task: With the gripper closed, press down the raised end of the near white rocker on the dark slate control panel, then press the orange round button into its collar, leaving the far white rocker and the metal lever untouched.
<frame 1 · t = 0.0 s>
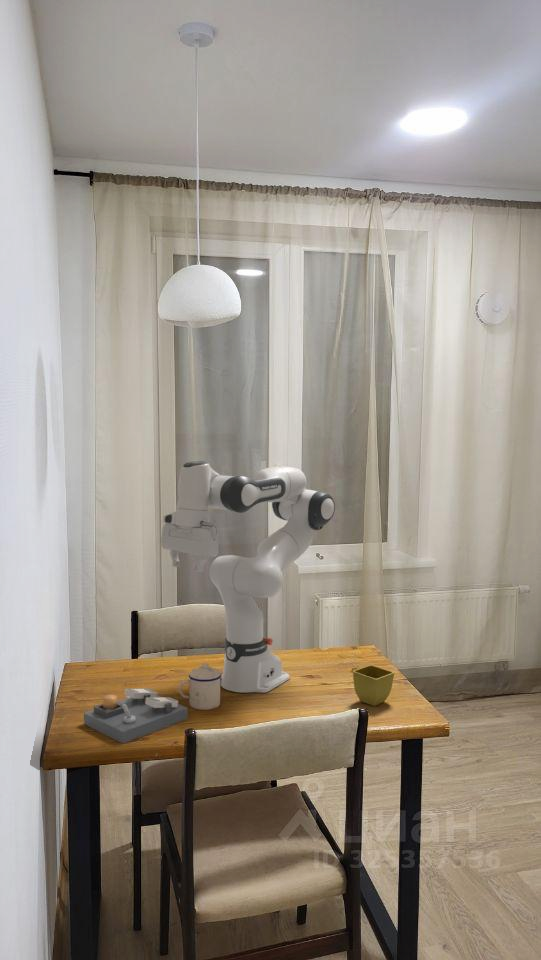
hand: (187, 569, 201), 39 cm above the table, tool pointing down, fingers open, 8 cm apart
button C: (109, 701, 191), point 6 cm above the table, slide at 0.0 cm
rocker B: (161, 702, 194), point 5 cm above the table, hinge at -15.0°
teacup with lid: (199, 705, 205), on the table
flower pot: (372, 702, 209), on the table
rocker A: (140, 693, 200), point 5 cm above the table, hinge at -15.0°
panel: (136, 721, 193), on the table
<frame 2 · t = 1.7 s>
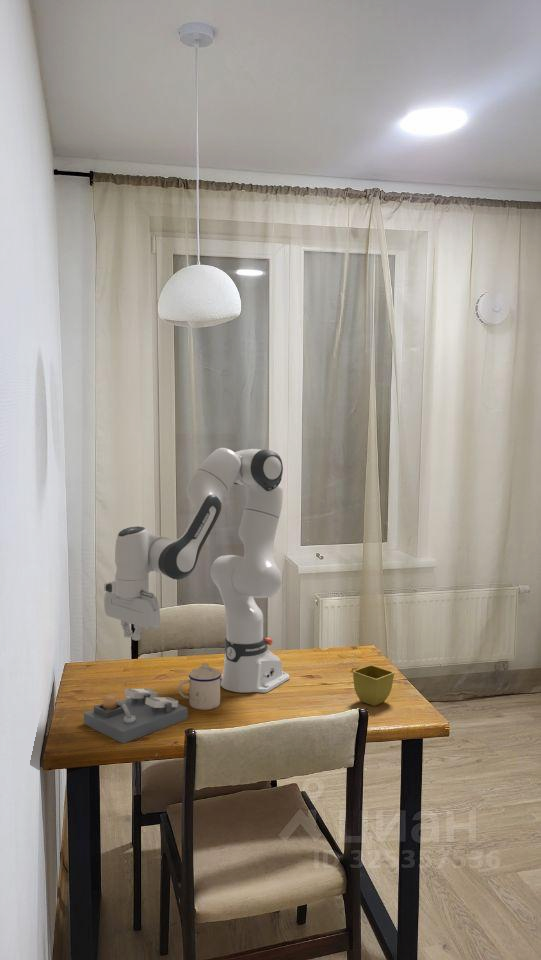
hand: (132, 638, 196), 21 cm above the table, tool pointing down, fingers closed
nothing on the table moved.
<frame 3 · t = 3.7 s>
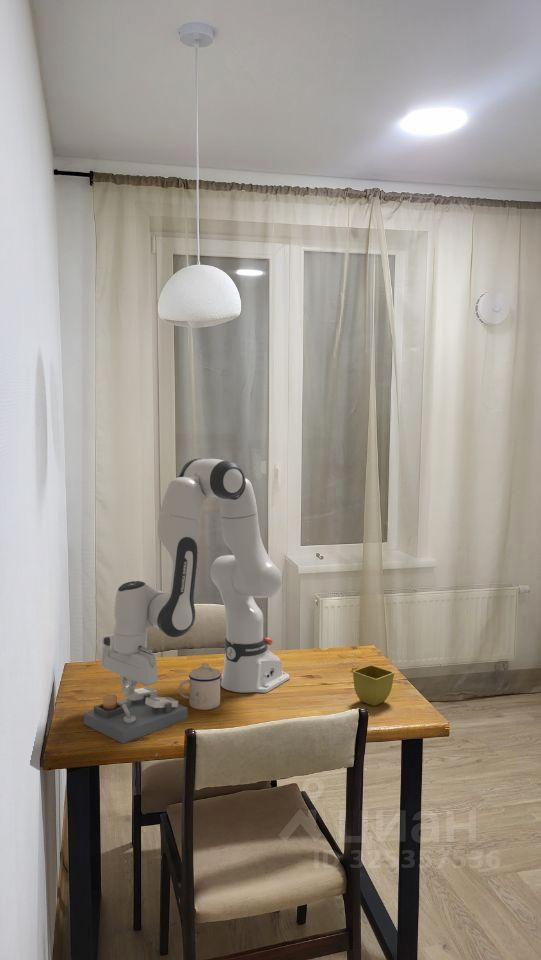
hand: (128, 692, 196), 6 cm above the table, tool pointing down, fingers closed, pressing on rocker A
rocker A: (140, 693, 200), point 5 cm above the table, hinge at -6.8°, touching gripper
everything else where it was.
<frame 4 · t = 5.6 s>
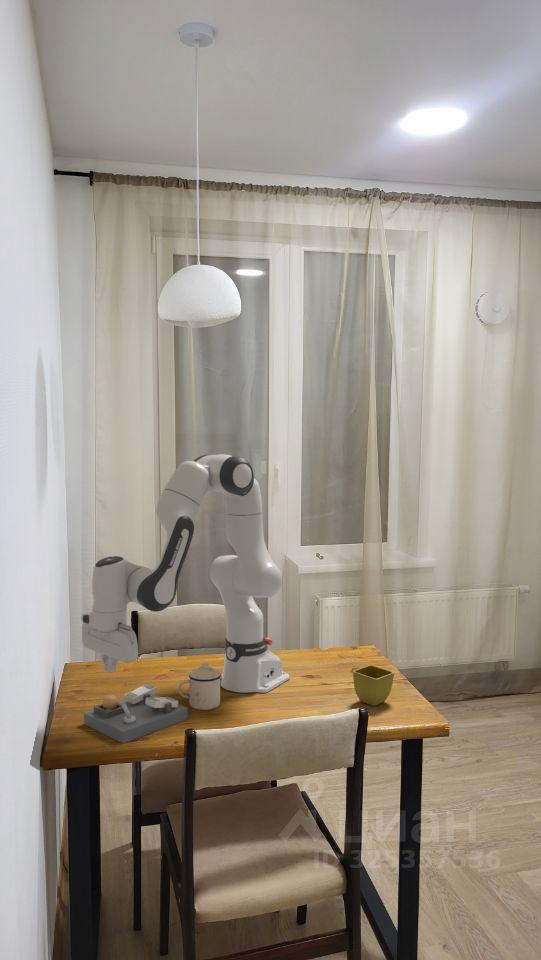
hand: (109, 671, 191), 14 cm above the table, tool pointing down, fingers closed
rocker A: (140, 693, 200), point 5 cm above the table, hinge at 7.2°
everything else where it was.
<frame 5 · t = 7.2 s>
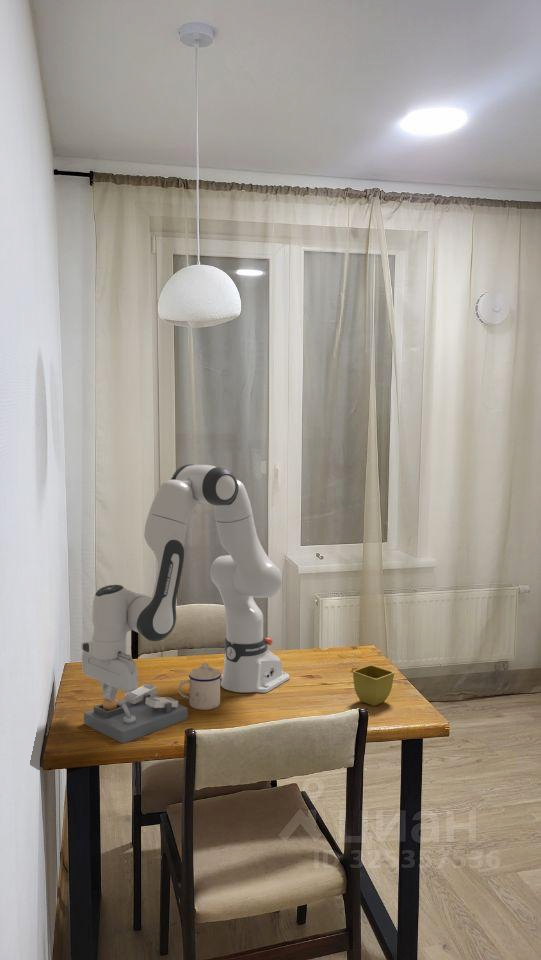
hand: (109, 699, 191), 6 cm above the table, tool pointing down, fingers closed, pressing on button C
button C: (109, 704, 192), point 5 cm above the table, slide at 0.6 cm, touching gripper
rocker A: (140, 693, 200), point 5 cm above the table, hinge at 8.2°
everything else where it was.
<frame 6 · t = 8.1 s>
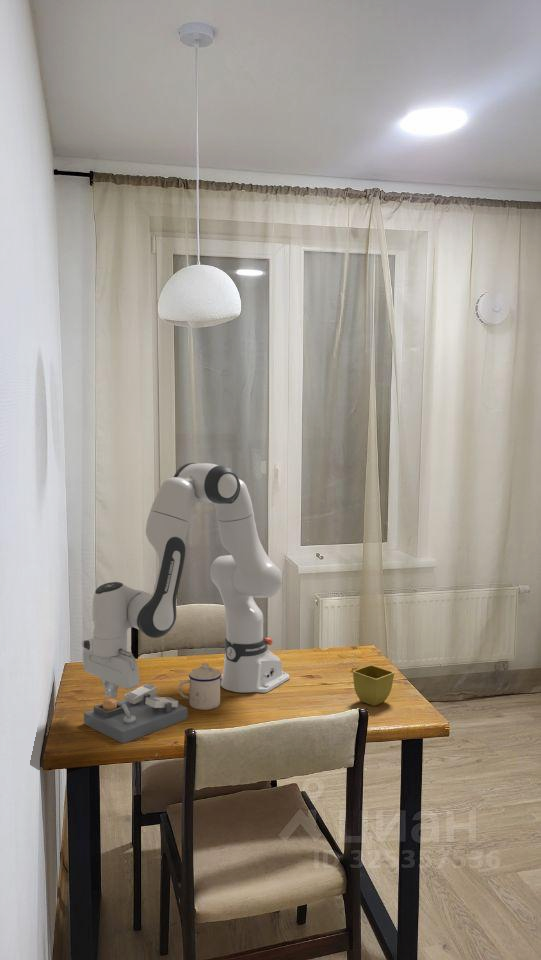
hand: (111, 696, 192), 7 cm above the table, tool pointing down, fingers closed
button C: (109, 706, 192), point 5 cm above the table, slide at 1.1 cm
everything else where it was.
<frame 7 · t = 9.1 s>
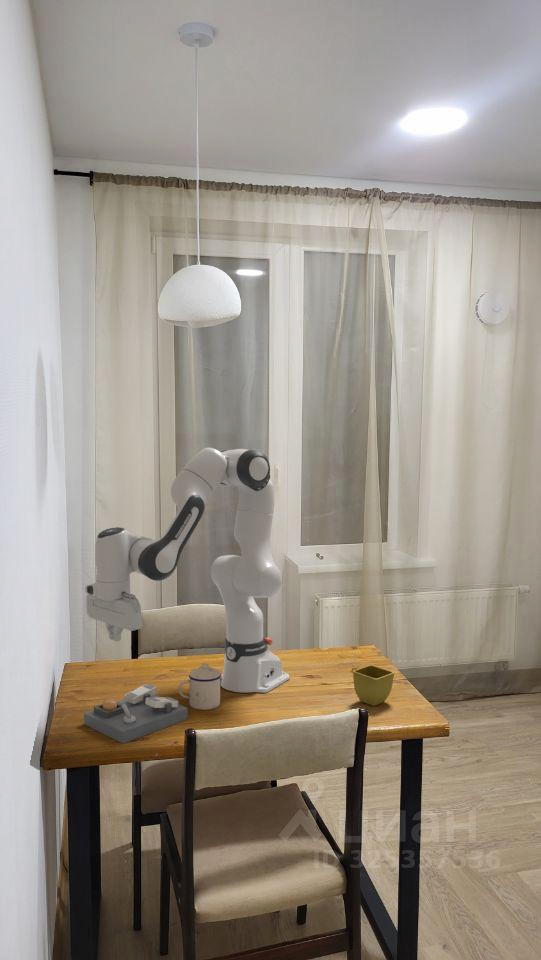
hand: (115, 640, 195), 21 cm above the table, tool pointing down, fingers closed
nothing on the table moved.
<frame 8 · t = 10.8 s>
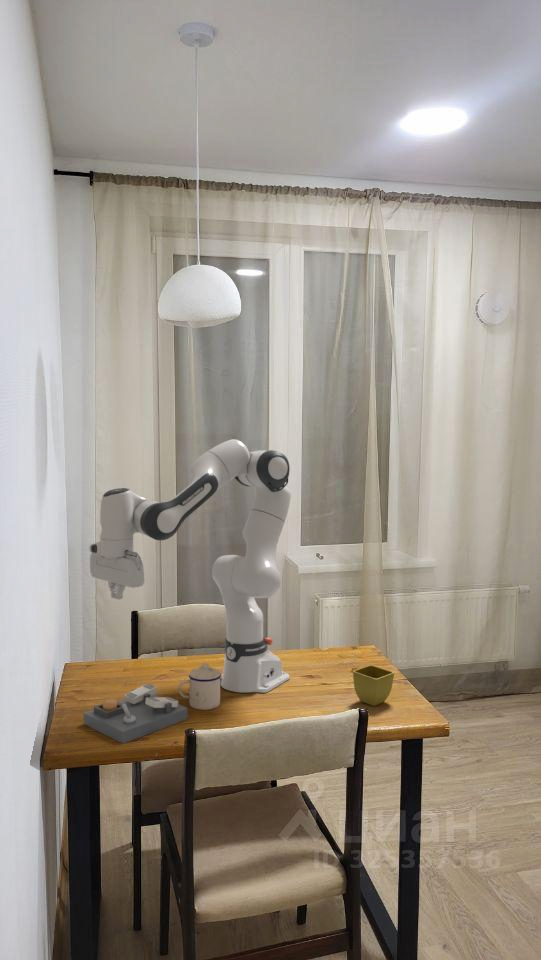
hand: (116, 598, 199), 31 cm above the table, tool pointing down, fingers closed
nothing on the table moved.
at the end: rocker A at +8° (first picture: -15°); button C slide at 1.1 cm; rocker B at -15° (first picture: -15°) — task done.
